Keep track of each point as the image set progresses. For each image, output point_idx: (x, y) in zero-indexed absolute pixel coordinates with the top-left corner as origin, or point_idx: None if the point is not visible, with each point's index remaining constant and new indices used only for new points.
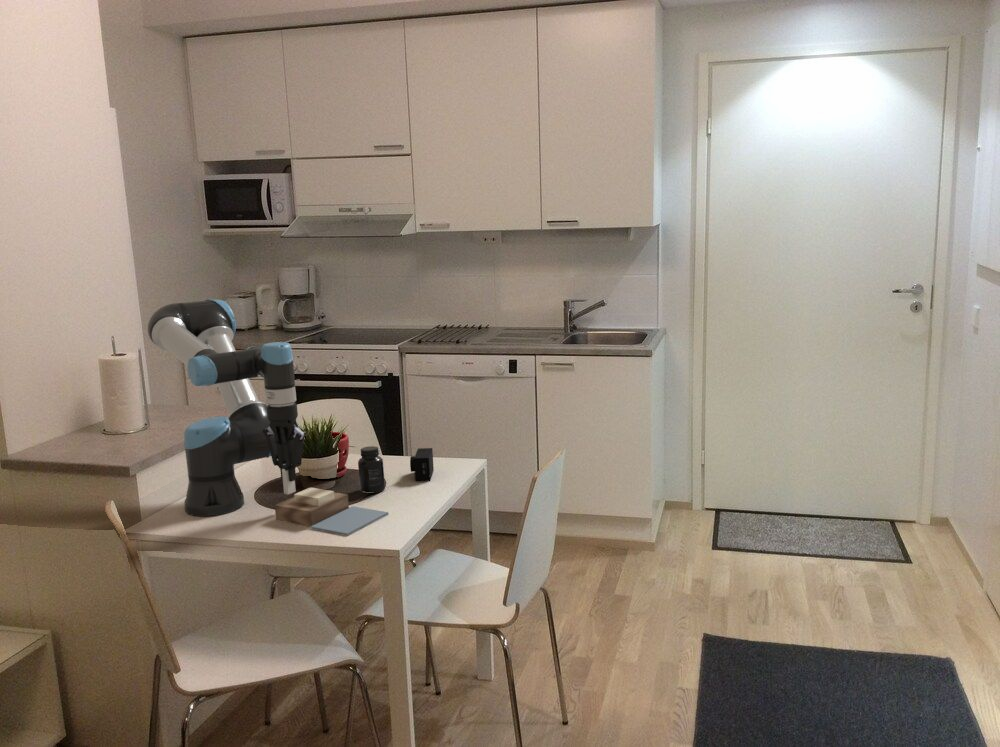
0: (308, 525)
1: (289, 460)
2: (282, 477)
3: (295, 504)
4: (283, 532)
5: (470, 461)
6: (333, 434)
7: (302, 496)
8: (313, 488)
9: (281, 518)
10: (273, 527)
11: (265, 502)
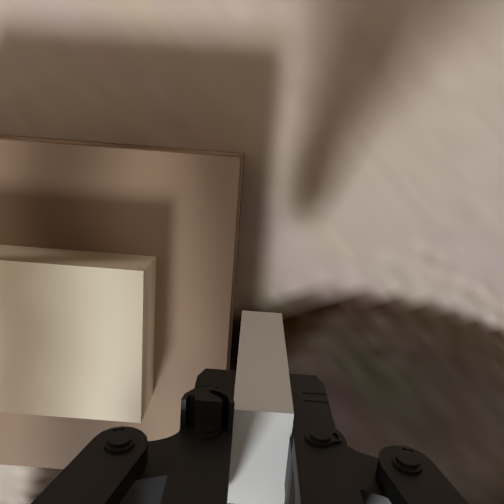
0: (2, 135)
1: (164, 500)
2: (309, 387)
3: (114, 216)
4: (68, 3)
5: None
6: None
7: (64, 263)
8: (102, 411)
9: (199, 150)
10: (180, 51)
11: (488, 362)
